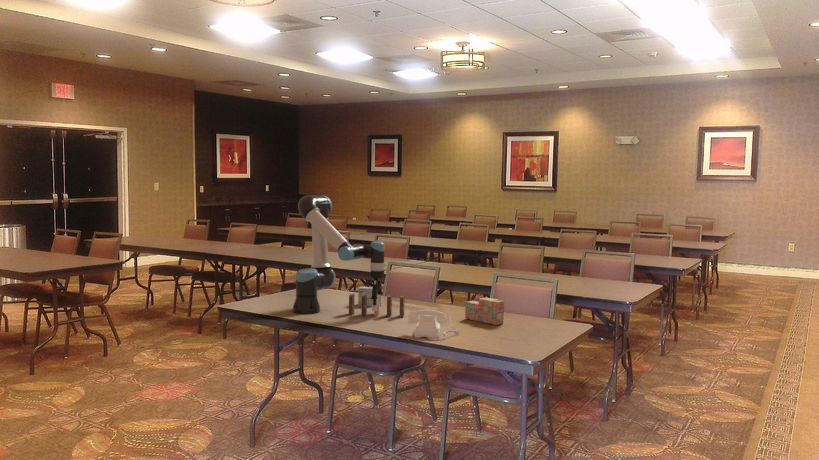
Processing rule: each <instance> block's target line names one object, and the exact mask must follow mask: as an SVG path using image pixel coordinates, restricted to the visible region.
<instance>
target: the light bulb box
mask: <svg viewBox="0 0 819 460" xmlns="http://www.w3.org/2000/svg"><path fill="white" fill-rule="evenodd" d="M372 288H373V286H359V287H358V289H357V291H358V292H357V293H358V294H357V297H358V298H357V299H358V300H357V302H358V305H357V306H358V307H362V295H363V294H367V307H372V299H371V297H372Z"/></svg>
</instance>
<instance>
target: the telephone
mask: <svg viewBox="0 0 819 460" xmlns="http://www.w3.org/2000/svg"><path fill="white" fill-rule="evenodd" d="M436 316H437V317H436ZM448 318H449V325H450V327H451V328H452V329H445V330H444V331H443V337H439V335H440V332H441V325H442V326H446V325H447V322H448ZM452 319H453V317H452V316H451V315H447V314H446V313H445V312H441V311H439V310H435V309H434V310H433V309H418V310H413V311H411V312H409V315H408V317H407V324H410V325H411V324H416V323H417V325H416V327H415V329H414V331H413V333H414V335H413V336H414V338H416V339H417V338H419V339H420V338H427V339H429V340H431V341H444V340H446V339H447V338H448V334H447V333H450V332H453V333H454V332H455V333H460V332H461V329H459V328H458V327H456V326H454V325H453V323H452Z"/></svg>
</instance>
